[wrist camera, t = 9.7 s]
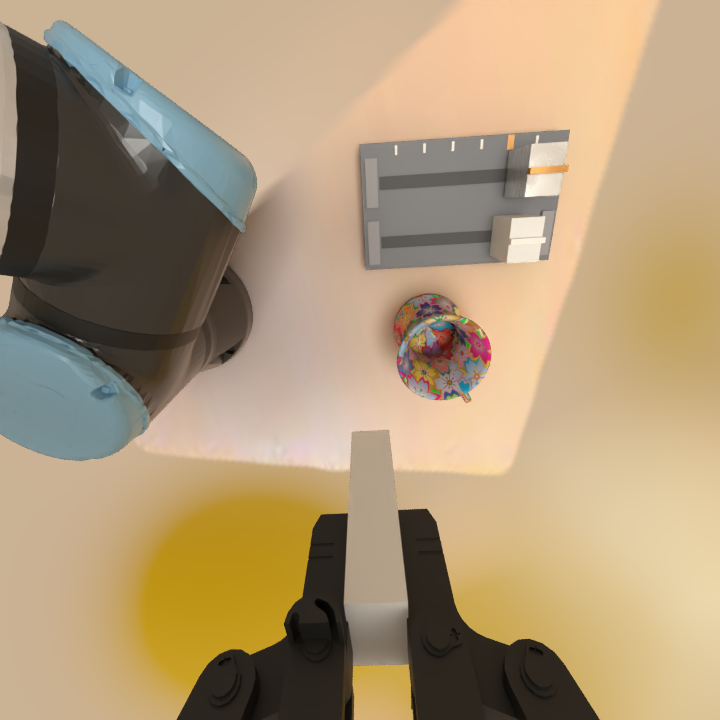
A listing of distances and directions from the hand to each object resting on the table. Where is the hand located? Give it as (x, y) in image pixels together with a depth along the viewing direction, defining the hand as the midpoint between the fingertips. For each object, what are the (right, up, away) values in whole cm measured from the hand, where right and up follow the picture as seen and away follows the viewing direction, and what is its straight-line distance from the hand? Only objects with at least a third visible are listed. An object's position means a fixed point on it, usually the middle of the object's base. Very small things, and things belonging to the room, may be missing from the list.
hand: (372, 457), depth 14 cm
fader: (+15, +22, +20) cm, 33 cm away
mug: (+9, +8, +30) cm, 32 cm away
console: (+10, +21, +23) cm, 33 cm away
